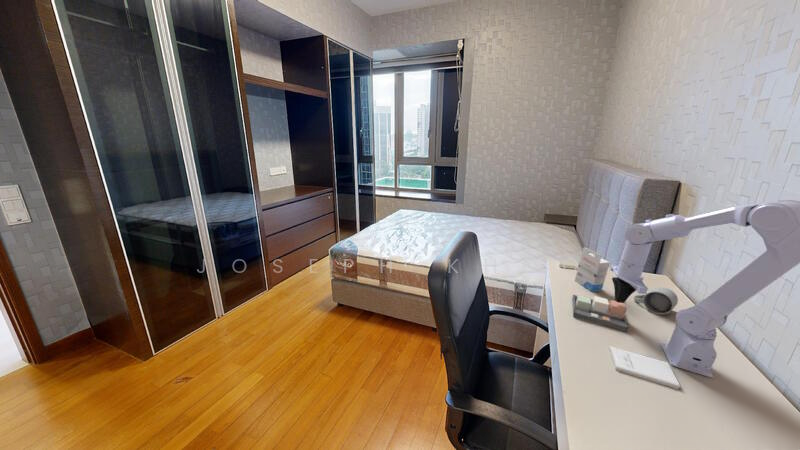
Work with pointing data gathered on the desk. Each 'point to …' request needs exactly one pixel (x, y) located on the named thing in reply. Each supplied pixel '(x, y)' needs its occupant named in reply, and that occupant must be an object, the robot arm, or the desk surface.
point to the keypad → (600, 317)
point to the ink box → (591, 270)
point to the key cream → (600, 304)
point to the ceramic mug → (658, 300)
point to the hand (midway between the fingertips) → (619, 301)
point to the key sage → (583, 303)
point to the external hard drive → (643, 367)
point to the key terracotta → (617, 309)
